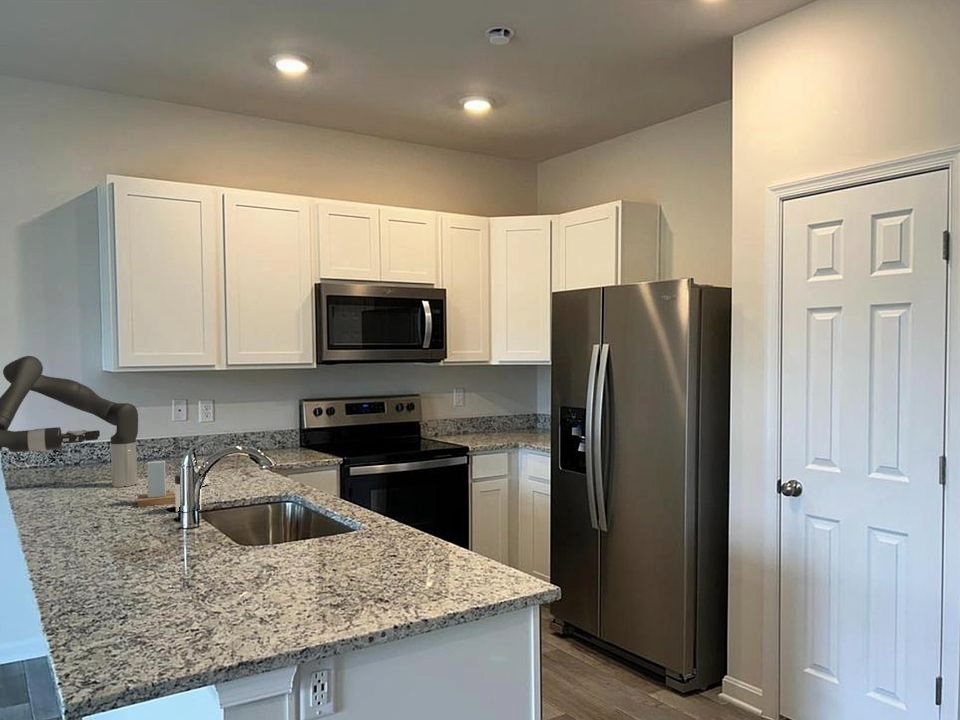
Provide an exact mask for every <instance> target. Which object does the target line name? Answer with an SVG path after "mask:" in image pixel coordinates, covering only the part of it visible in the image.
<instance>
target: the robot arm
mask: <svg viewBox="0 0 960 720" xmlns="http://www.w3.org/2000/svg"><path fill="white" fill-rule="evenodd" d="M43 371H44V366H43V363H42V362H41V360H40V359H39V358H38V357H36V356H33V355H26V356H22V357H19V358H17V359H15V360H13V361H10V362H9V363H8V364H6V365H5V366H4V368H3V370H2V374H3V377H4V378H5V380H7V382H8V383H10V385H9V386H8V388H7V389H6V391H4V392H3V394H2V395H1V396H0V452H1V451H2V449H3V448H6V449H8V450H9V451H10V452H12V453H20V452H21V453H22V452H43V451H53V450H61V449H62V448H63V444H64V445H66V444H67V445H70V444H78V443H81V444H82V443H84V442H86V441H96V440H99V437H100V435H101V433H100V430H89V431H88V430H85V429H82V430H68V431H66V432H65V433H63V432H62V428H61V427H60V426H58V427H57V426H56V427H46V428H45V427H44V428H34V429H29V430H17V431H16V430H13V431H12V430H9V427H10V426H11V424H12V422H13V420H14V418H15V415H16V414H17V412H18V411H19V408H20V406H21V405H22V403H23V401H24V400H25V398H26V397H27V395H28V394H29V392H30V391H31V392H34V393H35V392H36V393H38V394H40V395H43V396H45V397H48V398H50V399H53V400H54V401H55V400H56V401H57V402H60V403H61V404H64V405H67V406H68V407H71V408H74V409H77V410H79V411H82V412H85V413H88V414H92V415H94V416H95V417H97V418H99V419H101V420H103V421H104V422H106V423H108V424H110V425H112V426H115V427H116V429H115V430H116V431H115V434H114V435H112V436H111V437H110V460H111V462H110V463H111V486H112V487H114V488H124V486H126V487H132V486H136V485H138V462H137V461H138V459H137V457H138V456H137V455H138V454H137V436H138V433H139V411H138V409H137V407H136V406H135V405H134V404H132V403H123V402H119V403H118V402H115V401H111V400H108V399H105V398H103V397H100V395H98V394H97V393H96V392H95V391H94V390H93V389H91V388H90V387H89V386H87V385H84V384H82V383H80V382H78V381H76V380H73V379H67V378H63V377H62V378H61V377H54V376H53V377H52V376H48V375H45V374H43ZM135 484H136V485H135ZM131 485H132V486H131Z"/></svg>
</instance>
